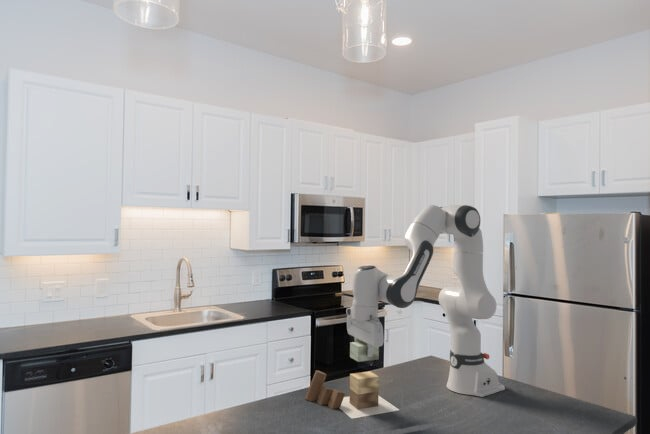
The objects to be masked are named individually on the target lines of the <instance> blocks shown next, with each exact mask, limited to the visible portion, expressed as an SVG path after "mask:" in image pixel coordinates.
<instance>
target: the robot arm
mask: <svg viewBox="0 0 650 434" xmlns="http://www.w3.org/2000/svg"><path fill="white" fill-rule="evenodd" d="M480 226H481V216H480V212H479V211H478V209H477V208H475V207H474V206H472V205H468V204H467V205H466V204H465V205H459V204H458V205H454V204H453V205H448V206H438V205H436V204H434V205H433V204H429V205H427V206H424V208H423V209H422V210H420V212H419V213H418V214H417V215H416V216H415V218H414V219H413V220H412V222H411V223H410V225H409V226H408V227H407V229H406V231H405V234H404V238H403V239H404V243H405V245H406V247H407V249H409V250H410V252H411V253H412V257H411V259H410V261H409V262H408V265H407V267H406V269H404V270H405V271H404V272H403V273H402V274H401V275H399V276H394V275H391V274H388V273H385V272H383V271H381V270H379V269H378V268H377V266H376V265H362V266H359V267H357V268H356V269H355V270H354V273H353V279H352V295H353V298H352V299H353V300H352V303H351V304H352V306H350V307H348V308H346V310H345V312H346V313H345V314H346V315H347V316H346V330H347V334H348V335H349V336H351V337H353V338H354V342H359V341H364V342H366V343H368V351H366V355H367V356H368V357H372V356H373V351H374V348H375V347H378V346H379V347H383V345H384V342H385V341H384V339H385V337H384V327H383V324H382V323H381V321H380V318H379V302H383V303H386V304H390V305H392V306H394V307H396V308H398V309H404V308H405V309H406V308H408V307H409V306H411V305H412V304H413V303H414V301H415V300H416V298H417V294H418V290H419V286H420V284H421V281H422V280H423V277H424V275H425V272H426V271H427V268H428V266H429V264H430V263H431V260H432V257H433V255H434V246H435V243H436V242H437V241H438V238H439V237H440V235H441V234H446V235H453V237H454V243H453V260H452V271H453V274H454V275H455V276H456V277H457V279H458V280H459V285H460V286H459V285H458V286H457V285H451V286H445V287H443V288H442V289H441V290H440V291H439V294H438V303H439V306H440V308H442V310H443V312H444V313H445V315H446V318H447V321H448V323H449V331H450V344H451V345H450V350H449V361H450V363H449V364H450V366H449V372H448V378H447V379H448V380H447V382H446V388H447V389H448V390H449V391H452V392H455V393H458V394H461V395H469V396H476V397H481V398H483V397H486V396H490V395H494V394H496V393H498V392H499V393H500V392H502V391H504V390H506V387H505V385H504V384H502V383H500V382H499V376H498V373H497V371H496V370H495V369H493V368H492V367H491V366H490V365H488V364H487V363H486V362H485V360H490V354H488V353H486V352H483V353H482V352H481V351H482V350H481V349H482V342H481V340H482V339H481V338H482V334H481V331H480V329H478V327H477V326H476V324H475V323H474V320H489V319H491V318H492V317H494V315H495V313H496V310H497V301H496V298H495V297H494V296H493V295H492V293H491V292H490V290H489V288H488V286H487V283H486V280H485V277H484V265H483V264H484V262H483V261H484V240H483V232H482V230H481V228H480Z"/></svg>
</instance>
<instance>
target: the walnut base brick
mask: <svg viewBox="0 0 650 434" xmlns="http://www.w3.org/2000/svg"><path fill="white" fill-rule="evenodd" d="M379 392H380V391H377V392H371V393H365V394H357V393H355V392H354V391H352V390H351V389H350V388H349V396H350V404H351V405H353V406H354V407H355V408H356V409H357V410H358V409H364V408H370V407H376V406H378V395H379ZM379 396H380V395H379Z"/></svg>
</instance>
